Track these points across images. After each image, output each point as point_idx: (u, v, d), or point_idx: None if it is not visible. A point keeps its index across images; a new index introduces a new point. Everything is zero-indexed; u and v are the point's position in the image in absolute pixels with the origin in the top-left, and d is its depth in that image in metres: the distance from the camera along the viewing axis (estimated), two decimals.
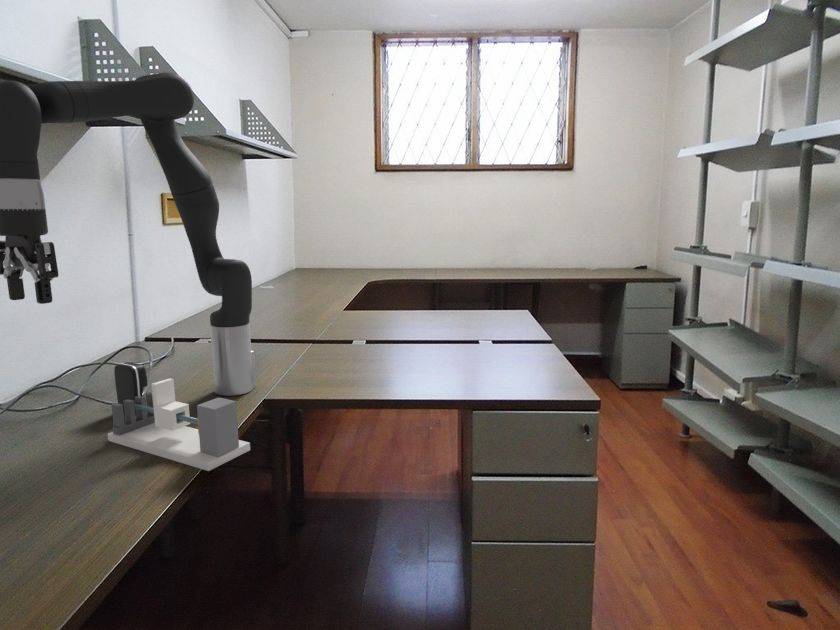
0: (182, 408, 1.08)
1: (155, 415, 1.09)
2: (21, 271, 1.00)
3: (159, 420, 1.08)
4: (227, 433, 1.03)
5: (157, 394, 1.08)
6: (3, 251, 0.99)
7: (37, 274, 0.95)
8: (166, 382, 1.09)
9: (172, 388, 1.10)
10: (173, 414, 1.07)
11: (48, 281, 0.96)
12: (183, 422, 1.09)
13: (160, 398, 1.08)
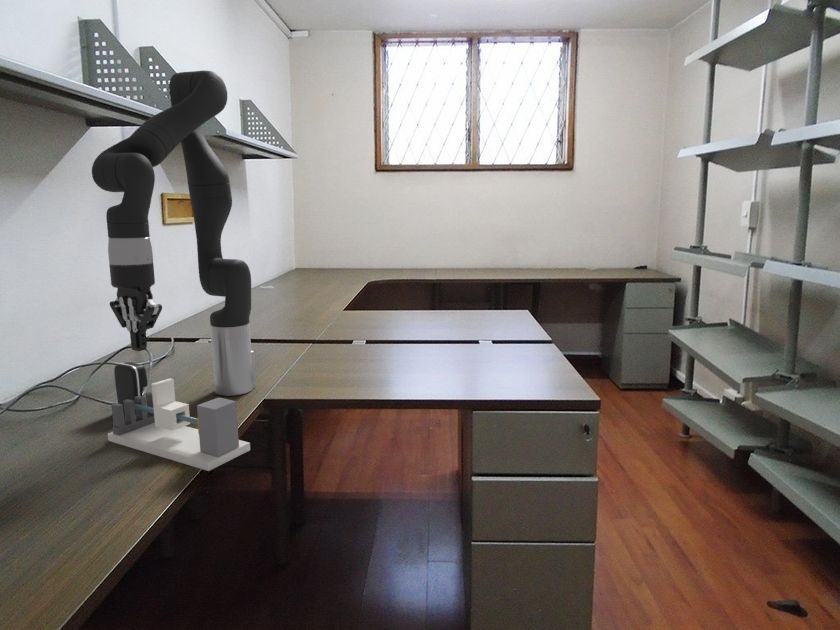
0: (182, 408, 1.08)
1: (155, 415, 1.09)
2: (140, 320, 1.11)
3: (159, 420, 1.08)
4: (227, 433, 1.03)
5: (157, 394, 1.08)
6: (118, 306, 1.11)
7: (137, 327, 1.08)
8: (166, 382, 1.09)
9: (172, 388, 1.10)
10: (173, 414, 1.07)
11: (144, 331, 1.10)
12: (183, 422, 1.09)
13: (160, 398, 1.08)
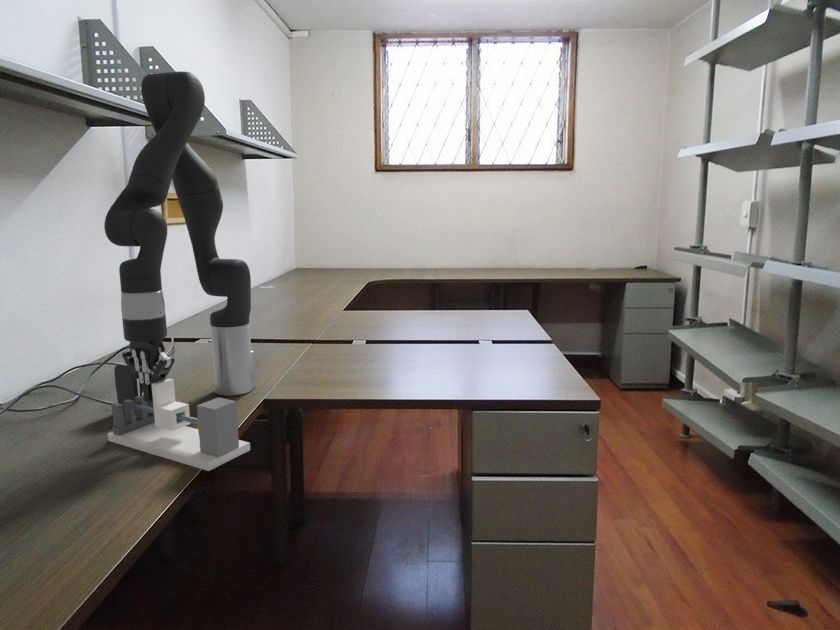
0: (182, 408, 1.08)
1: (155, 415, 1.09)
2: (152, 371, 1.11)
3: (159, 420, 1.08)
4: (227, 433, 1.03)
5: (157, 394, 1.08)
6: (131, 357, 1.11)
7: (150, 380, 1.09)
8: (166, 382, 1.09)
9: (172, 388, 1.10)
10: (173, 414, 1.07)
11: None
12: (183, 422, 1.09)
13: (160, 398, 1.08)
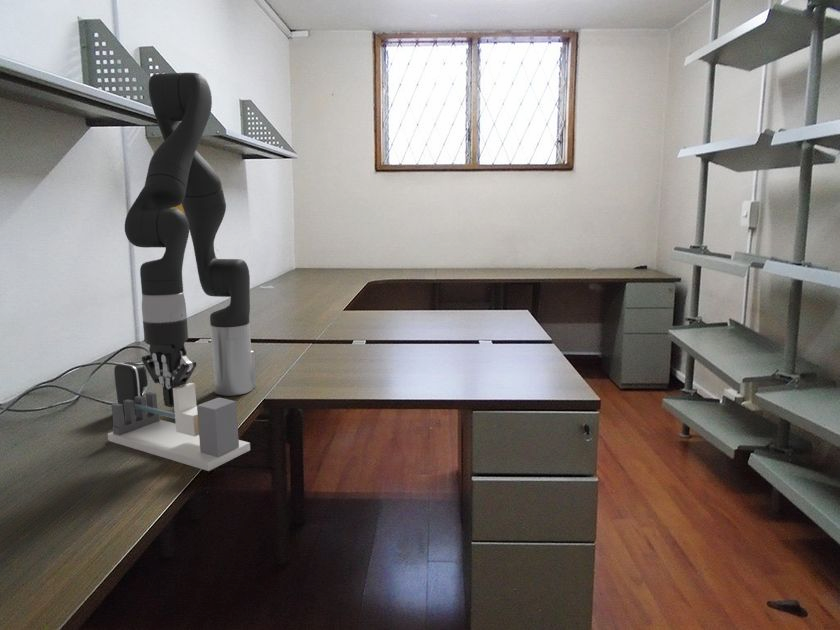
0: None
1: (176, 420, 1.06)
2: None
3: (180, 426, 1.06)
4: (227, 433, 1.03)
5: (178, 399, 1.05)
6: (151, 361, 1.09)
7: (170, 384, 1.06)
8: (187, 386, 1.06)
9: (193, 393, 1.08)
10: (195, 419, 1.04)
11: None
12: None
13: (182, 403, 1.06)
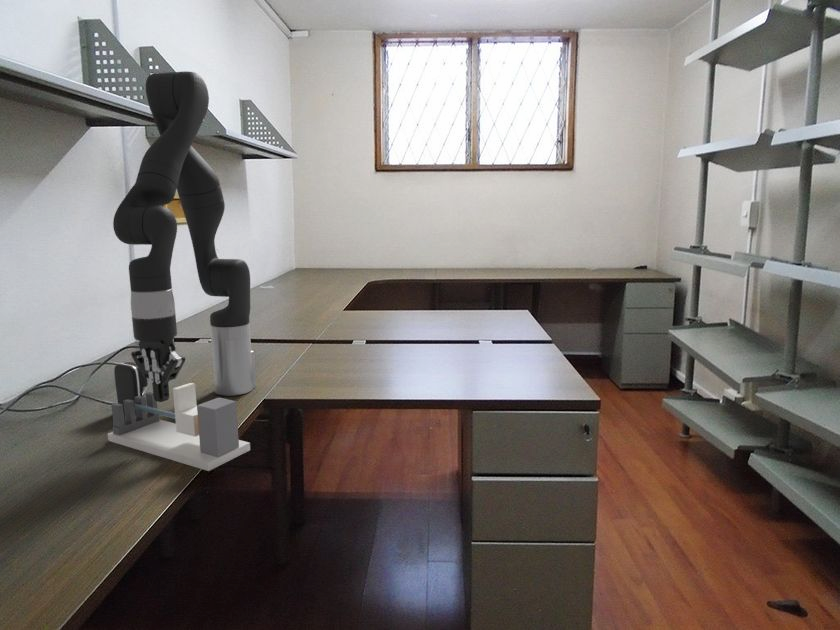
0: None
1: (176, 420, 1.06)
2: None
3: (181, 426, 1.05)
4: (227, 433, 1.03)
5: (179, 399, 1.05)
6: (140, 357, 1.10)
7: (160, 379, 1.08)
8: (188, 387, 1.06)
9: (193, 393, 1.08)
10: (195, 419, 1.04)
11: (167, 382, 1.09)
12: None
13: (182, 403, 1.06)
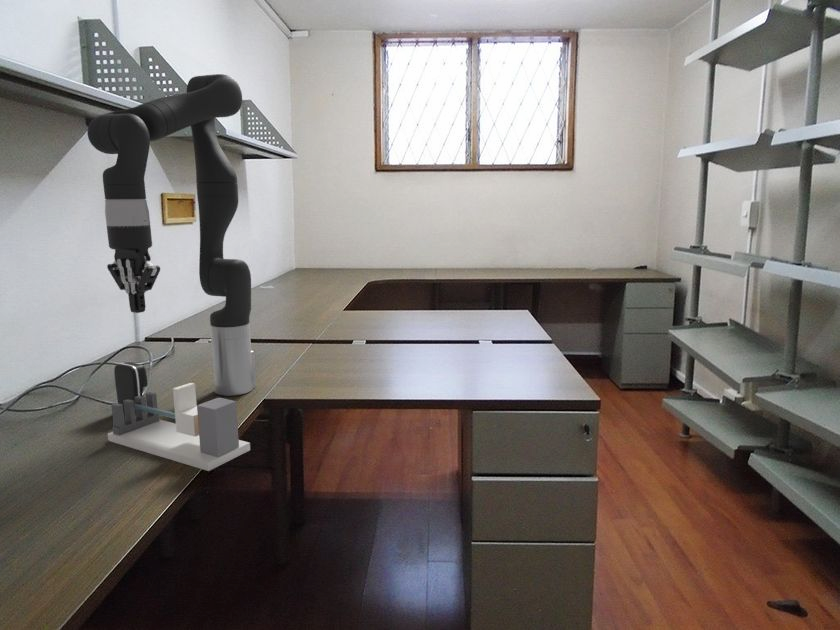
0: None
1: (176, 420, 1.06)
2: (138, 282, 1.12)
3: (181, 426, 1.05)
4: (227, 433, 1.03)
5: (179, 399, 1.05)
6: (116, 269, 1.12)
7: (136, 289, 1.10)
8: (188, 387, 1.06)
9: (193, 393, 1.08)
10: (195, 419, 1.04)
11: (143, 293, 1.11)
12: None
13: (182, 403, 1.06)
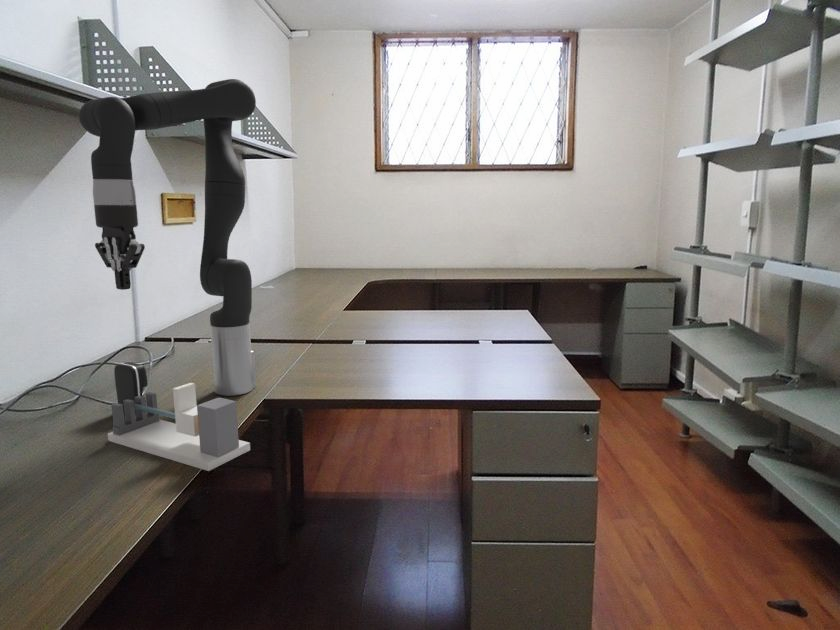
0: None
1: (176, 420, 1.06)
2: (124, 261, 1.16)
3: (181, 426, 1.05)
4: (227, 433, 1.03)
5: (179, 399, 1.05)
6: (103, 247, 1.16)
7: (121, 266, 1.14)
8: (188, 387, 1.06)
9: (193, 393, 1.08)
10: (195, 419, 1.04)
11: (128, 271, 1.15)
12: None
13: (182, 403, 1.06)
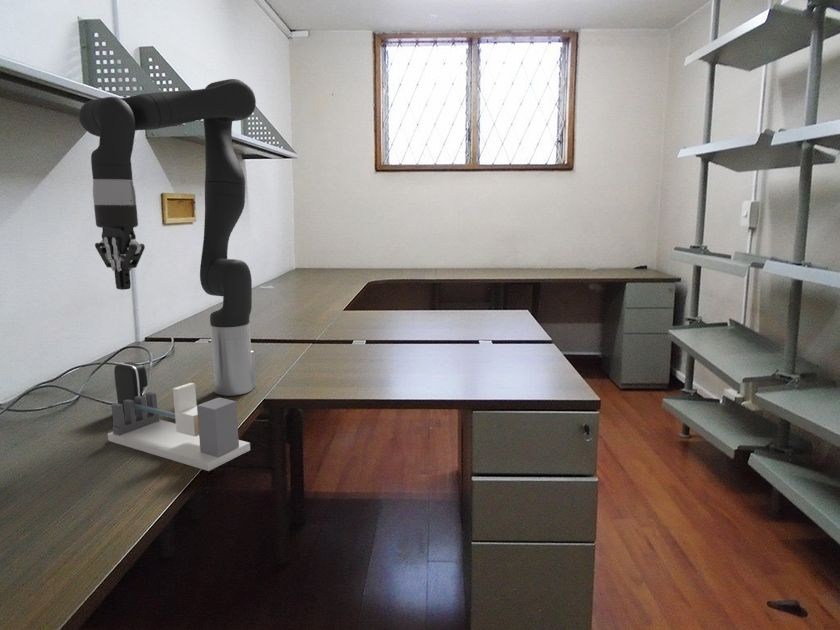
0: None
1: (176, 420, 1.06)
2: (124, 261, 1.16)
3: (181, 426, 1.05)
4: (227, 433, 1.03)
5: (179, 399, 1.05)
6: (103, 247, 1.16)
7: (121, 266, 1.14)
8: (188, 387, 1.06)
9: (193, 393, 1.08)
10: (195, 419, 1.04)
11: (128, 271, 1.15)
12: None
13: (182, 403, 1.06)
